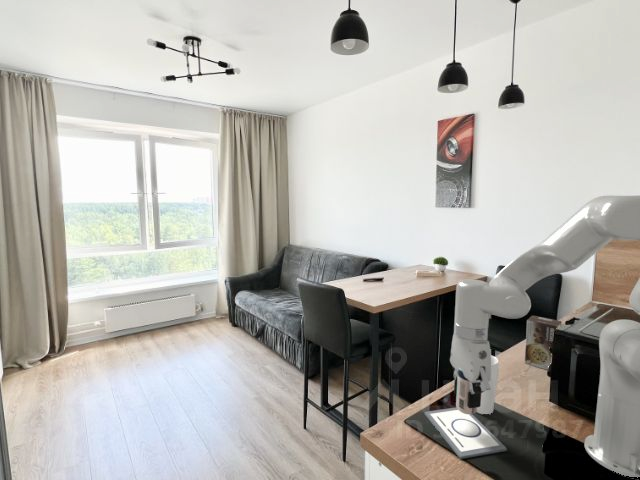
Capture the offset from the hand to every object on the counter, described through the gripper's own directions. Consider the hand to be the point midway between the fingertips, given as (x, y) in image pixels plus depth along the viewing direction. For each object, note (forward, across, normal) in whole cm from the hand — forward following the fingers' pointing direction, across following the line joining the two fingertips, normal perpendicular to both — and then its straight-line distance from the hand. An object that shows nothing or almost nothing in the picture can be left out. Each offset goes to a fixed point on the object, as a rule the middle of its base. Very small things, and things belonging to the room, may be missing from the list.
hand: (466, 399), depth 86 cm
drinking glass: (+8, +6, -10) cm, 14 cm away
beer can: (+3, 0, 0) cm, 3 cm away
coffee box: (+8, +24, -46) cm, 53 cm away
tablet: (+8, 0, +1) cm, 8 cm away
